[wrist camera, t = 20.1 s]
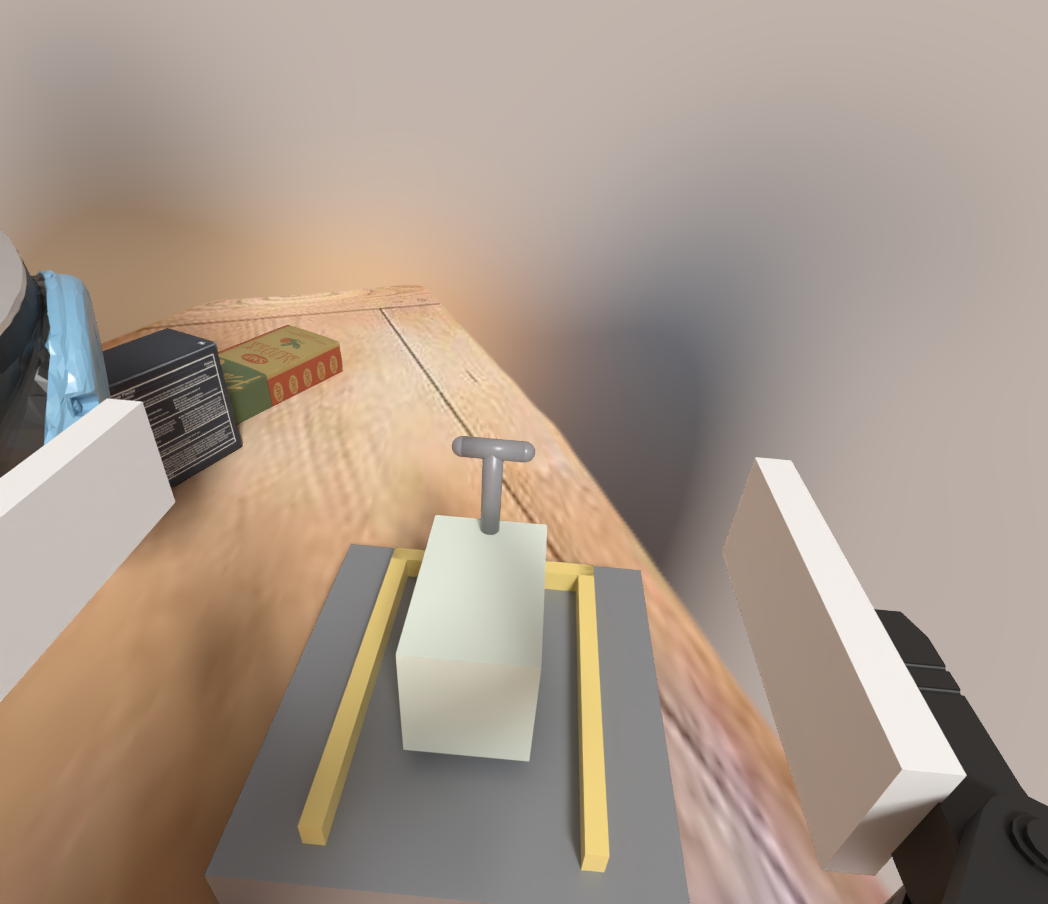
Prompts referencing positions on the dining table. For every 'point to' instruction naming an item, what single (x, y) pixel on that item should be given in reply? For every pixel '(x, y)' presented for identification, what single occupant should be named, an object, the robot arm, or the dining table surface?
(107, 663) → the dining table surface
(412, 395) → the dining table surface
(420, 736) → the plunger detonator box
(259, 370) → the carton
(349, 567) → the dock
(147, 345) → the small box
